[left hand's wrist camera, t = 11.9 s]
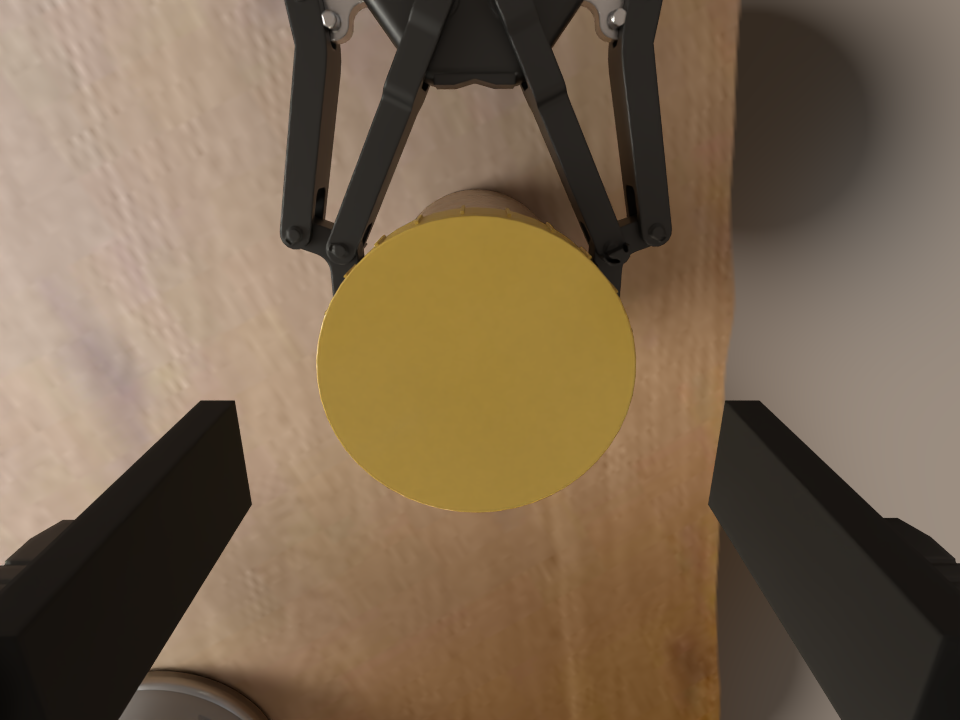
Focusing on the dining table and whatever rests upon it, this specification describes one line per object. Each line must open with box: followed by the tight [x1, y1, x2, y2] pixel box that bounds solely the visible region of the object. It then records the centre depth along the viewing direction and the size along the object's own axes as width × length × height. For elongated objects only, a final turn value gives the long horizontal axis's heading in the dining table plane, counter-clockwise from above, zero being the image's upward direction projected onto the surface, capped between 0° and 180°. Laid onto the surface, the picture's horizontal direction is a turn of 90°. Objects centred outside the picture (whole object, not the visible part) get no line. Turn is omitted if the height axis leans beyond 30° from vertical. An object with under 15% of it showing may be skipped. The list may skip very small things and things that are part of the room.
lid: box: [316, 205, 636, 513], centre depth 19 cm, size 10×10×2 cm
